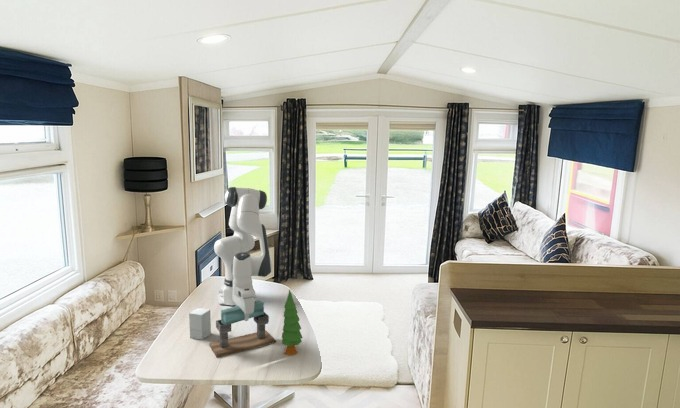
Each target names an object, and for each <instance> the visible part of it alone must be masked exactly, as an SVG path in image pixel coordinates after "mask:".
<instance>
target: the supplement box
mask: <svg viewBox="0 0 680 408" xmlns="http://www.w3.org/2000/svg"><path fill="white" fill-rule="evenodd" d="M188 318H189V320H188V321H189V338H190V339H196V340H200V341H201V340H204V339H206V338H208V336H210V335H211V334H212V323H211V321H212V320H211V309H208V308H201V307H197V308H196V309H193V310H191V312H189V313H188Z"/></svg>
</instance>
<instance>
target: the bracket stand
mask: <svg viewBox="0 0 680 408" xmlns="http://www.w3.org/2000/svg"><path fill="white" fill-rule="evenodd" d="M269 319H270V316H269V314H268V313H266V312H265V311H264V314H263V315H259V316H256V317H253V321H254V322H255V324H256V332H254V333H253V332H252V333H248V334H244V335H239V336H235V337H231V338H230V337H229V332H232V324H229V325H226V326H225V325H224V324H222V323H221V319H217V320H215V328H216V330H218V332H219V340H217V341H212V342H209V343H208V344H209V345H208V346H209V348H210V350H211V351H212V352H213V354H214V356H215V357H216V358H220V357H225V356H228V355H232V354H237V353H240V352H244V351H250V350H252V349H257V348H261V347H264V346H268V345H271V344H274V343H276V338H274V337H273V335H272V334H271V333H269V332H268V331H267V330H266V325H267V324H269V322H270V320H269Z"/></svg>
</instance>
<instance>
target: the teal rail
mask: <svg viewBox="0 0 680 408" xmlns="http://www.w3.org/2000/svg"><path fill="white" fill-rule="evenodd" d="M264 304H265V301H262V300H261V299H257V300H255V303H254V312H253V313H252V314H250V315H249V319H254V317H256V316H259V315H263V314H264V312H265V310H264V309H265V305H264ZM244 316H245V314H244V312H243V311H242V310H241V308H240V307H239V306H236V305H234V306H232V307H228V308H223V309H221V310H220V317H221V319H220V320H221V323H222V324H224V325H225V326H226V325H229V324H231V325H233V324H235V323H239V322H242V321H245V320H244Z"/></svg>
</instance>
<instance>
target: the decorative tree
mask: <svg viewBox="0 0 680 408" xmlns="http://www.w3.org/2000/svg"><path fill="white" fill-rule="evenodd" d="M283 308H284V311H283V327H282V333H281V338H282V339H281V340H282V341H281V344H282V345H284V346H286V348H285V351H284V353H283V355H286V356H287V355H288V356H295V355H297V354H298V353H299V352H298V350H297V349H296V346H299V345H300V344H301V343H302V339H303V335H302V333H301V330H302V326H301V324H300V320H301V319H300V317H299V316H298V312H299V311H298V310H297V306H296V304H295V301H294V297H293V294H292V291H291V289H288V294H287V298H286V301H285V303H284V307H283Z"/></svg>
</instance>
